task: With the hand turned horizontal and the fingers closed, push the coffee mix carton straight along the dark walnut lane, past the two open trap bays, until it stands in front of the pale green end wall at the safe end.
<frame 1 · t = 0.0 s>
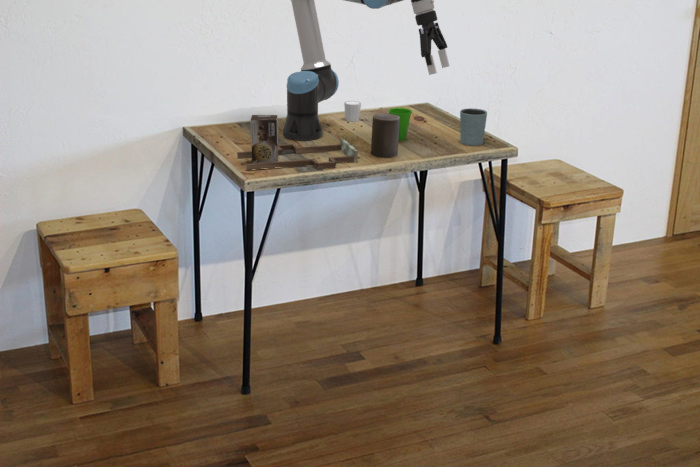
hand: (439, 70, 329), 28 cm above the table, tool tilted 20°, fingers open, 13 cm apart
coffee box: (265, 162, 315), on the table
trap lane: (295, 159, 319), on the table
white ribbed ramekin: (352, 120, 370), on the table
grey plant pot: (471, 142, 344), on the table
pillar candle: (384, 154, 328), on the table
cup: (398, 139, 346), on the table
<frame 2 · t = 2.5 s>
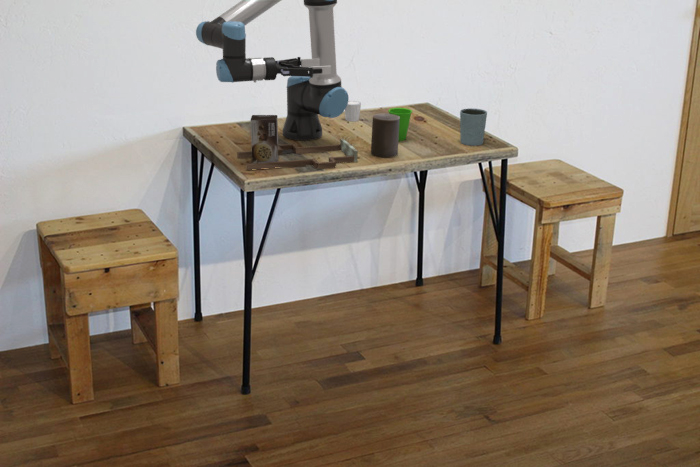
hand: (324, 66, 312), 32 cm above the table, tool horizontal, fingers open, 12 cm apart
nothing on the table moved.
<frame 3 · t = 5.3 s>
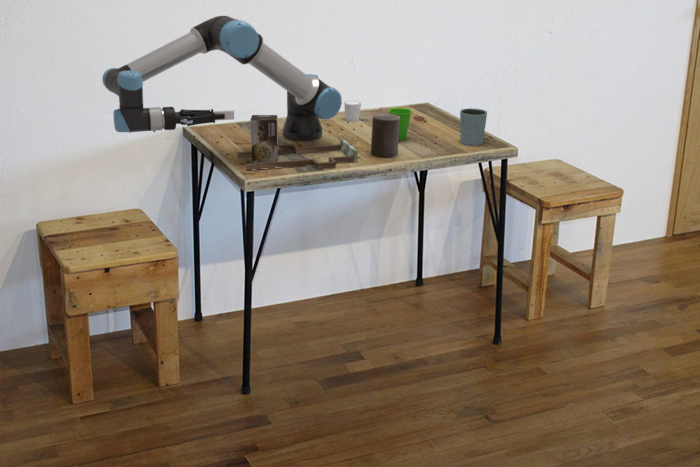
hand: (233, 114, 305), 17 cm above the table, tool horizontal, fingers closed
nothing on the table moved.
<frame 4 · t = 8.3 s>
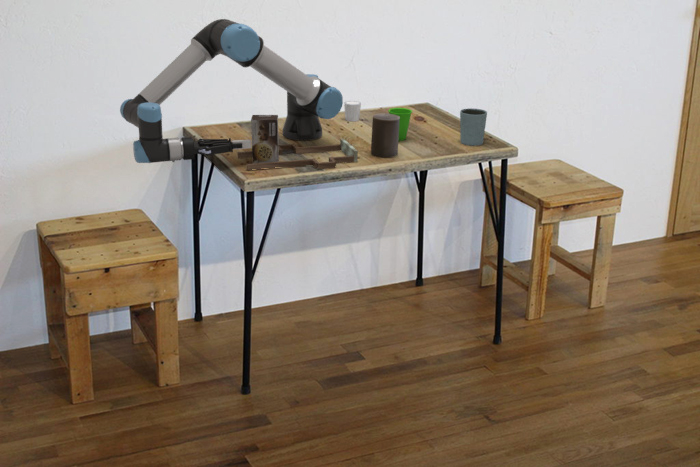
hand: (250, 143, 310), 7 cm above the table, tool horizontal, fingers closed
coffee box: (265, 162, 315), on the table, touching gripper
everything else where it was.
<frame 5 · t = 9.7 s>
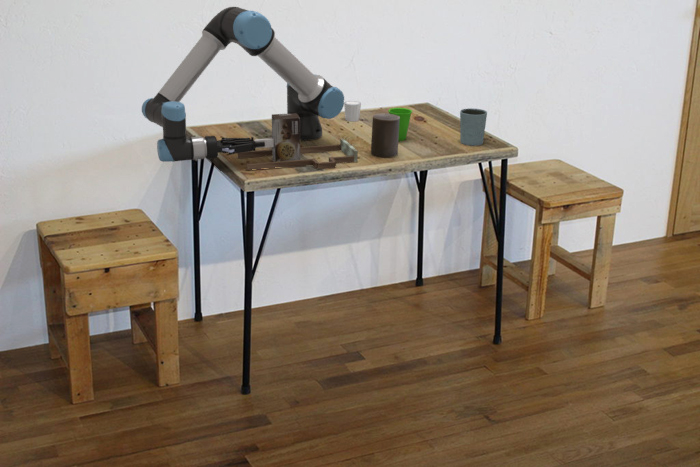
hand: (273, 142, 312), 7 cm above the table, tool horizontal, fingers closed
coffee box: (286, 161, 317), on the table, touching gripper
everything else where it was.
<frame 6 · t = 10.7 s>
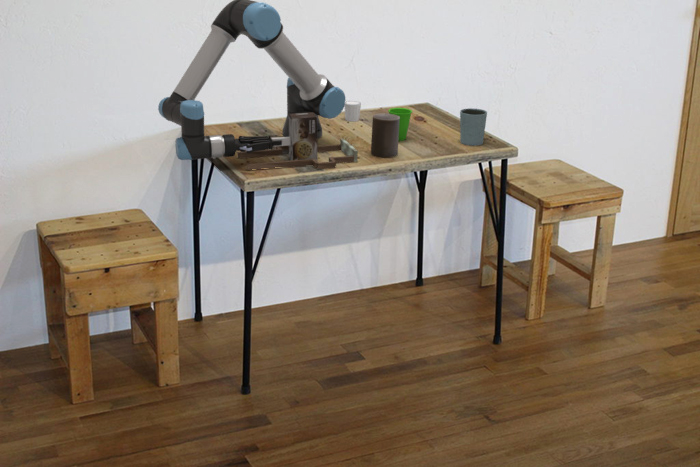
hand: (290, 140, 314), 7 cm above the table, tool horizontal, fingers closed
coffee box: (303, 160, 319), on the table, touching gripper
everything else where it was.
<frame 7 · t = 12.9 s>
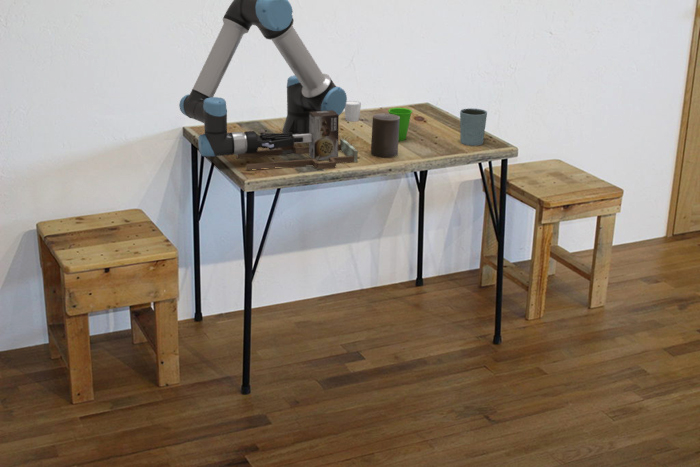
hand: (310, 137, 318), 8 cm above the table, tool horizontal, fingers closed
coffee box: (323, 157, 322), on the table, touching gripper
everything else where it was.
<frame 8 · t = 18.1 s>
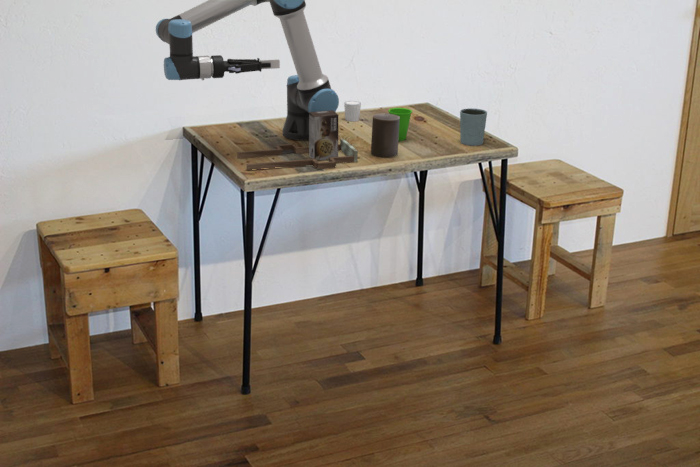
hand: (279, 63, 313), 32 cm above the table, tool horizontal, fingers closed
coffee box: (323, 158, 322), on the table
everything else where it was.
at the end: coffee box inside the target area (0.8 cm from its centre), on the table; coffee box tilted 0°; the gripper is holding nothing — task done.
